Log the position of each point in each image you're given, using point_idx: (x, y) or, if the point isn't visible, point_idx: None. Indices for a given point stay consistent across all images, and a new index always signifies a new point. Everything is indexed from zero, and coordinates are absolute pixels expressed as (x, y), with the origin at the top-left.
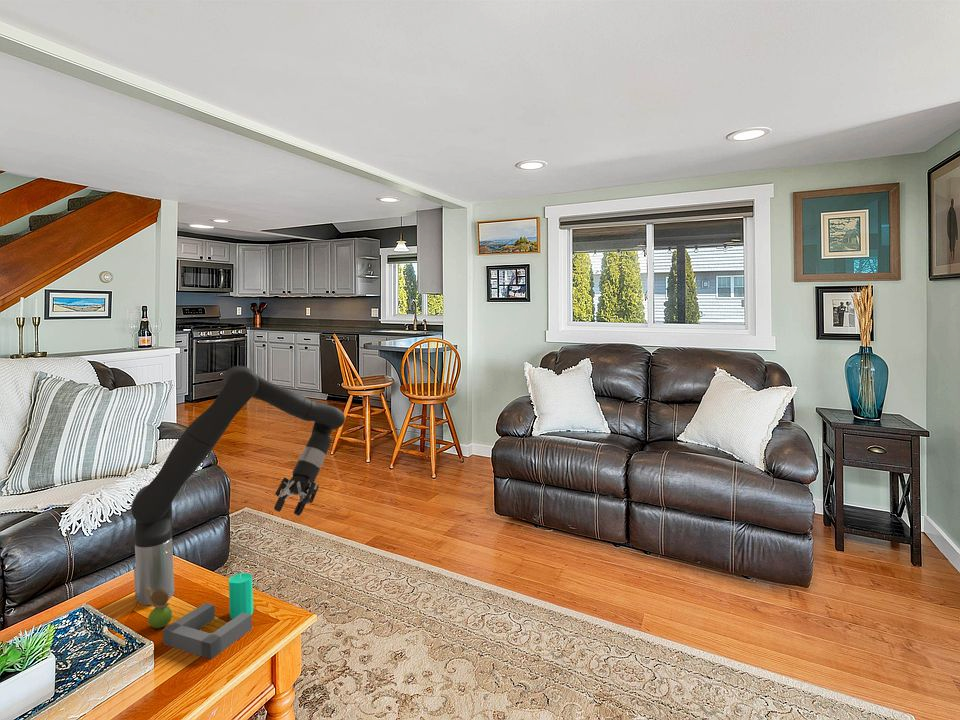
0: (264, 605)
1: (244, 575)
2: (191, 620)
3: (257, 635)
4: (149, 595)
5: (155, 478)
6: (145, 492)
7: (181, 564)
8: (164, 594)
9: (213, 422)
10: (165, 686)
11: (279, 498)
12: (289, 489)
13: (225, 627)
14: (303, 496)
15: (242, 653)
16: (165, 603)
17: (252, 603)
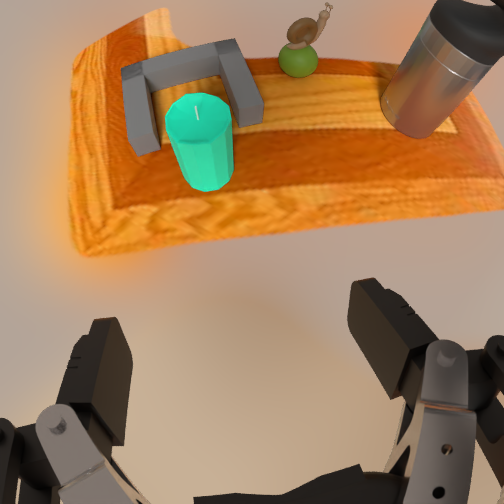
0: (195, 218)
1: (211, 135)
2: (223, 69)
3: (112, 155)
4: (317, 22)
5: None
6: None
7: (498, 204)
8: (291, 25)
9: None
10: (136, 42)
11: (421, 341)
12: (404, 482)
13: (137, 94)
14: (53, 465)
15: (96, 120)
16: (292, 43)
17: (186, 175)
